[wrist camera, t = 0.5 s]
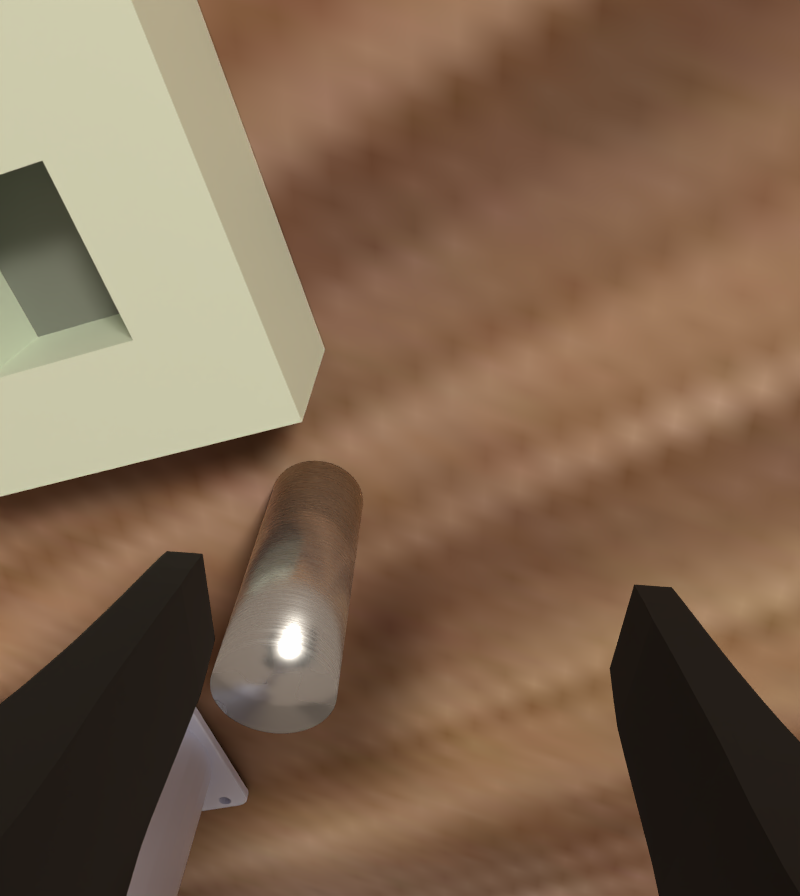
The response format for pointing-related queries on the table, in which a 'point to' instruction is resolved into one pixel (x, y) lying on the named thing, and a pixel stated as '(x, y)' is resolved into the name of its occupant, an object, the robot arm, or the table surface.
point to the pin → (292, 604)
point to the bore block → (134, 247)
